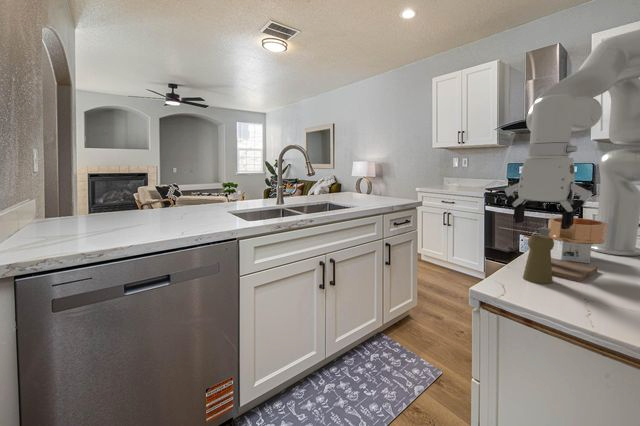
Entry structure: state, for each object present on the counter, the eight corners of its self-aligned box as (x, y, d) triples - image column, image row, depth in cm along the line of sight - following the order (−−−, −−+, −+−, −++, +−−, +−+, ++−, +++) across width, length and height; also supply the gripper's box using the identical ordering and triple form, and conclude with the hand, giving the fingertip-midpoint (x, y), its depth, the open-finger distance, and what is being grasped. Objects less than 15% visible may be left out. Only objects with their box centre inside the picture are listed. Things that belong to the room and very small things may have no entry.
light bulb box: (590, 264, 87) (594, 226, 85) (560, 260, 90) (563, 224, 89) (583, 254, 96) (587, 220, 94) (556, 251, 99) (559, 218, 98)
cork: (558, 284, 72) (562, 239, 71) (529, 283, 74) (533, 238, 72) (545, 275, 78) (548, 233, 77) (518, 274, 80) (521, 232, 78)
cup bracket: (547, 261, 90) (552, 215, 87) (607, 273, 79) (613, 221, 77) (528, 269, 83) (532, 220, 81) (590, 284, 72) (597, 227, 70)
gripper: (602, 150, 66) (593, 229, 69) (515, 154, 81) (510, 219, 83) (590, 149, 62) (580, 233, 65) (501, 153, 76) (495, 221, 79)
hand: (541, 225), depth 74 cm, fingers open, 9 cm apart
